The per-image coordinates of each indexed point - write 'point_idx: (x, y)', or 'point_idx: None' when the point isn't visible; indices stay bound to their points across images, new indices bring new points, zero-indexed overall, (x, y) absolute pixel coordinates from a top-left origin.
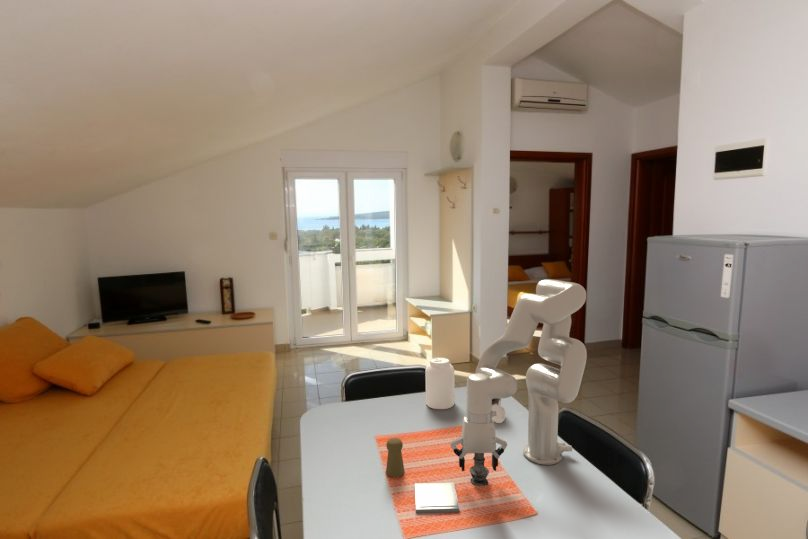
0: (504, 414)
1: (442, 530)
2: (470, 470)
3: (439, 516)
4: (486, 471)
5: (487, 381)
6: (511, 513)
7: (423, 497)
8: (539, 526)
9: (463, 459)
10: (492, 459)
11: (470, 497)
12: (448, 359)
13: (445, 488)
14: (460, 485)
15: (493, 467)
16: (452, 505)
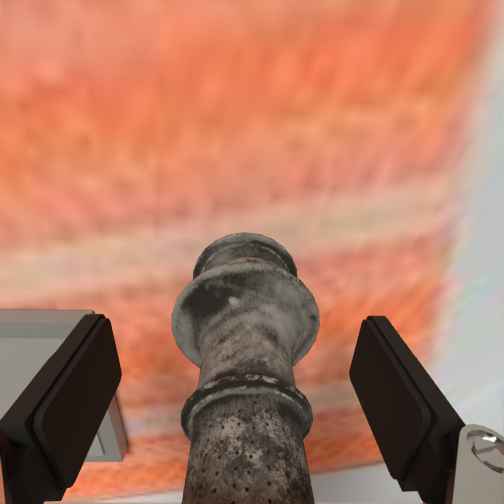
0: None
1: (75, 498)
2: (177, 330)
3: None
4: (295, 353)
5: None
6: (322, 453)
7: None
8: (384, 490)
9: (54, 500)
10: (390, 391)
11: (179, 385)
12: None
13: (38, 369)
14: (131, 308)
15: (358, 381)
16: (92, 453)
